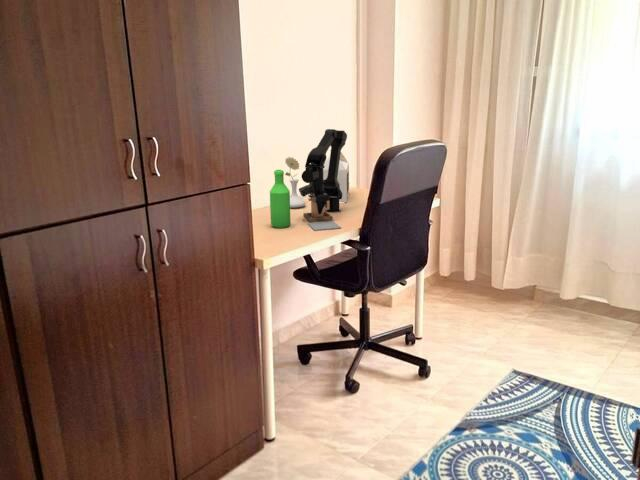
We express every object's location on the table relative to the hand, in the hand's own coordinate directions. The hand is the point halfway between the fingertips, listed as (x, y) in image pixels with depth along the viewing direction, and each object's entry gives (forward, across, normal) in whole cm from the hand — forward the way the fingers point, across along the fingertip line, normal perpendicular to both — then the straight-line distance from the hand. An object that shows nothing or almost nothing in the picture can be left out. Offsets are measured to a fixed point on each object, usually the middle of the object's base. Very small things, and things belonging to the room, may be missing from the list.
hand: (317, 212), depth 262 cm
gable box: (+3, -39, +21) cm, 44 cm away
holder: (+3, 0, 0) cm, 3 cm away
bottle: (+3, +7, -19) cm, 20 cm away
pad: (+3, +14, -1) cm, 14 cm away
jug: (+3, 0, 0) cm, 3 cm away
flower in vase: (+3, -28, -5) cm, 29 cm away
